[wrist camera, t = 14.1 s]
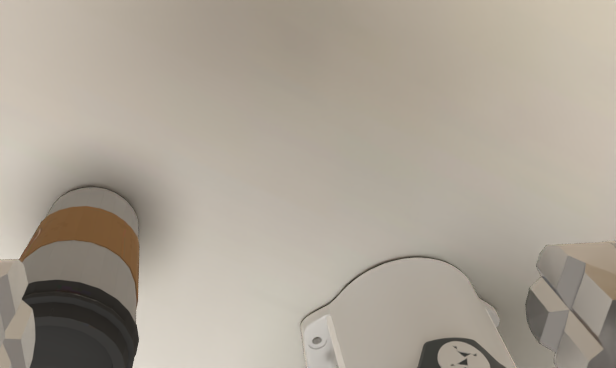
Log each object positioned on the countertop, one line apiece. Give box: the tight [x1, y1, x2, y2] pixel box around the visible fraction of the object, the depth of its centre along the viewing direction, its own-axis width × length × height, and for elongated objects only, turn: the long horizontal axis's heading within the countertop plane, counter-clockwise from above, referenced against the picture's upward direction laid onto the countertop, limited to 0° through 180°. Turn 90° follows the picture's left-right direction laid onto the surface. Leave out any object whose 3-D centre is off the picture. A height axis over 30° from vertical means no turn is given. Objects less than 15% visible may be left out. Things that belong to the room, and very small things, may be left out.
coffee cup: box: [19, 187, 139, 368], centre depth 37 cm, size 8×8×15 cm
